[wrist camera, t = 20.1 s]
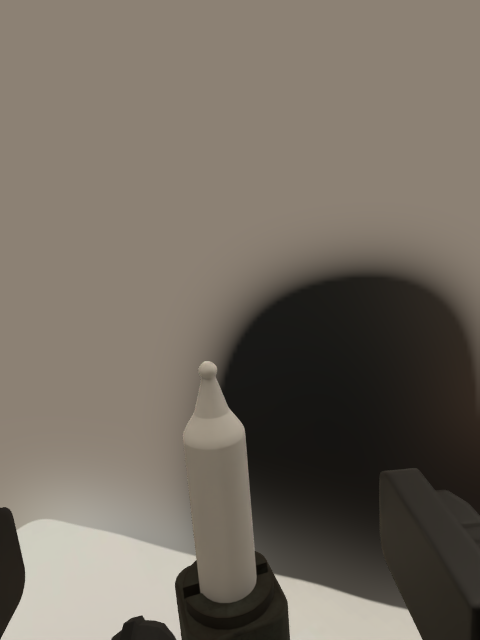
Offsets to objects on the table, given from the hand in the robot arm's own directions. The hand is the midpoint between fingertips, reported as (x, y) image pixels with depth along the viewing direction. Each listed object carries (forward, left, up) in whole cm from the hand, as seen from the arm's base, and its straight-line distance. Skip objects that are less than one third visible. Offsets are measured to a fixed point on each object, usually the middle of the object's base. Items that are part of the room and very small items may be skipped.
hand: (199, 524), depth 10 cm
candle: (-4, -10, -25) cm, 27 cm away
